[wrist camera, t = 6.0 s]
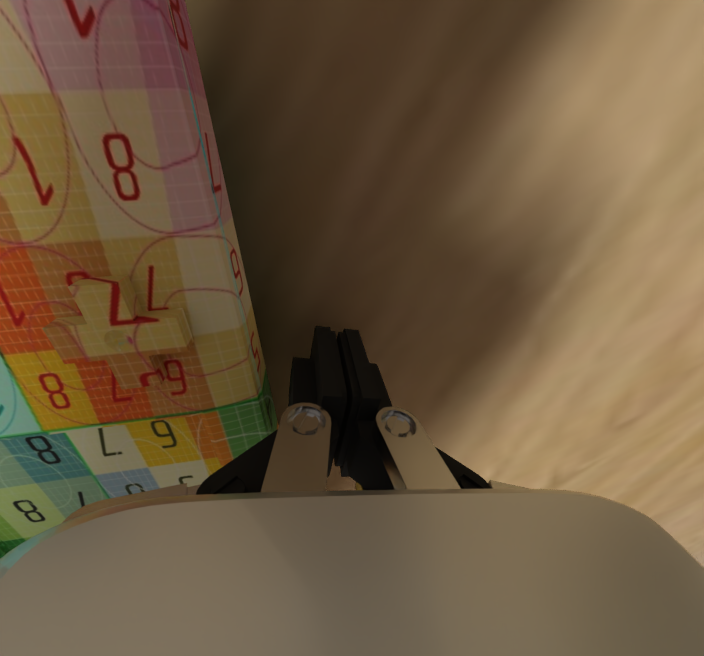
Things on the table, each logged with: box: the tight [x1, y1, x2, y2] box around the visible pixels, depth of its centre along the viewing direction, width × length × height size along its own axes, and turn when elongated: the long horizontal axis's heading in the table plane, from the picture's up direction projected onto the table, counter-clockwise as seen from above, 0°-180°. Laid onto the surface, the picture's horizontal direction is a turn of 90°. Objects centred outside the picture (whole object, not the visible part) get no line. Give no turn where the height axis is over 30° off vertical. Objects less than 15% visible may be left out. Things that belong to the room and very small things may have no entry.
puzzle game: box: [0, 0, 279, 558], centre depth 10 cm, size 12×5×20 cm
